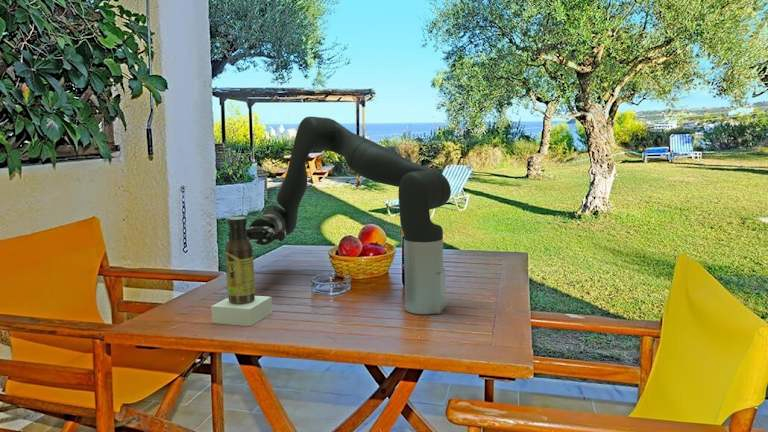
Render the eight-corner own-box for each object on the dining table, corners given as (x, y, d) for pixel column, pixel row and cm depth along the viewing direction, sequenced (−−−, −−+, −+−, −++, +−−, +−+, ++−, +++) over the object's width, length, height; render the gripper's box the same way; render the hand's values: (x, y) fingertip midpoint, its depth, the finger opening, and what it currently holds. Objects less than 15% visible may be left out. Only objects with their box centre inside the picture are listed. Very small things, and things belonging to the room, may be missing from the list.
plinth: (272, 312, 141) (271, 296, 141) (250, 326, 132) (249, 309, 131) (235, 310, 144) (234, 294, 144) (212, 322, 135) (211, 306, 134)
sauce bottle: (226, 299, 139) (220, 216, 136) (252, 295, 142) (247, 214, 139) (230, 306, 133) (225, 220, 130) (258, 302, 136) (253, 217, 133)
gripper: (240, 216, 162) (221, 225, 146) (291, 215, 162) (278, 224, 145) (241, 242, 163) (223, 255, 147) (292, 241, 163) (279, 254, 147)
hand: (250, 240), depth 146 cm, fingers open, 8 cm apart
